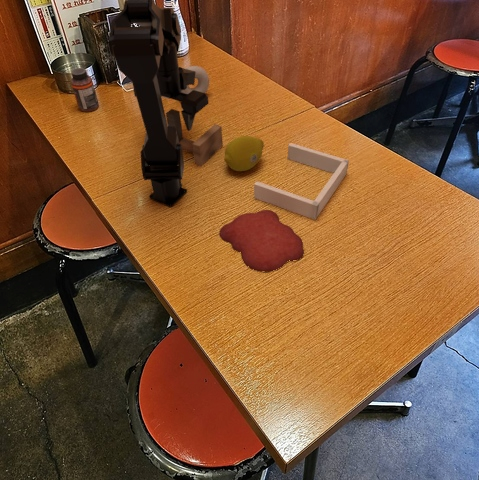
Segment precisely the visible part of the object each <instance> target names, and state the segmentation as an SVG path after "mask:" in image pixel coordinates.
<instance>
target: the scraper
mask: <svg viewBox="0 0 479 480" xmlns="http://www.w3.org/2000/svg"><path fill="white" fill-rule="evenodd" d="M180 113H181V112H180V110H177V109H173V108H171V109H169V110H168V111H166V112H165V116H166V121H167V125H168V127H169V126H174V127H175V128H176V131H177V136H178V140H179V144H182V148H183V151H184V152H188V153H190V154H193V159H194V161H193V162H194V164H195V165H197V166H199V167H202V166H203V165H205V163H206V162H208V161H209V160H210V159H211V158H212V157H213V156H214V155H216V153H217V152H218V151H220V149H221V148H222V147H223V145H224V143H223V130H222V125H219V124H215V123H214V124H213V125H212V126H211V127H209V128H208V129H207V130H206V131H205V132H204V133H203V134H202V135H201V136H199V138H197V139H196V140H195V141H194V140H191V139H188V138H184V135H183V128H182V120H181V114H180Z"/></svg>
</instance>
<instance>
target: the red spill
mask: <svg viewBox="0 0 479 480" xmlns="http://www.w3.org/2000/svg"><path fill="white" fill-rule="evenodd" d="M218 235H219V237H220V239H221V240H222V241H224V242H226V243H228V242H229V244H231V247H232V249H233V250H234V251H235V250H236V252H238V253H240V252H241V253H240V254H241V260H242V259H243V260H242V262H243V261H244V262H243V263H244V264H245V266H246V267H248V266H249V267H250V268H249V267H248V268H249V269H251V270H252V269H254V270H253V271H255V270H257V271H256V272H258V271H273V270H276V269H278V268H280V267H281V268H283V267H284V266H285V265H286V264H287V263H288V262H287V261H289V260H290V261H293V260H297V259H300V258H301V257H302V256H303V254H304V255H305V250H304V243H303V242H302V241H303V239H302V238H301V236H300V235H298V234H297V233H296V232H295V231H294V229H293V228H292V227H291V226H289V225H288V224H284V223H282V222H281V221H280V217H279V215H278V213H277V212H275V211H273V210H270V209H262V210H259V211H257V212H247V213H242V214H240V215H238V216H235V218H234V219H233V220H231V222H227V223H226V224H224V225H222V227H221V228H220V229H219V233H218ZM303 257H304V256H303ZM303 257H302V258H303ZM302 258H301V259H302ZM301 259H300V260H301ZM286 262H287V263H286ZM285 263H286V264H285ZM284 264H285V265H284ZM283 265H284V266H283ZM282 266H283V267H282ZM281 268H280V269H281ZM278 270H279V269H278ZM276 271H277V270H276ZM273 272H274V271H273Z"/></svg>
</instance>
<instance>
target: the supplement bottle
mask: <svg viewBox="0 0 479 480" xmlns="http://www.w3.org/2000/svg"><path fill="white" fill-rule="evenodd" d="M71 75H72V78H71V79H70V84H71V88H72V91H73V94H74V98H75V100H76V104H77V107H78V109H79V111H81V112H84V113H89V112H93V111H95V110H97V109H98V108H99V106H100V103H99V99H98V95H97V92H96V89H95V84H94V82H93V78H92V77H91V76H90V75H89V74H88V72H87V70H86V68H83V67H77V68H74V69H72V70H71Z"/></svg>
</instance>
